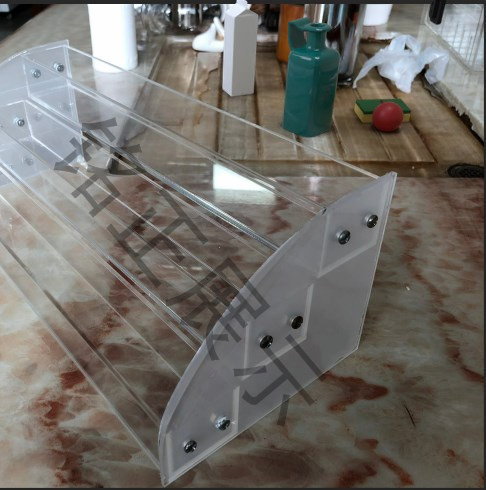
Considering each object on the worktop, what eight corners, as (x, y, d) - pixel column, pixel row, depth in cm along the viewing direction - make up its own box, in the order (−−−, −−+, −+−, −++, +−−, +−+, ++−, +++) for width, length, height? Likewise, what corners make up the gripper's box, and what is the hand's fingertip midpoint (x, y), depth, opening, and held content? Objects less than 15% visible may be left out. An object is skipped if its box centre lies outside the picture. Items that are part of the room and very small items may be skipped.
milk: (231, 98, 145) (234, 3, 132) (222, 90, 150) (224, -3, 137) (254, 95, 146) (259, 0, 134) (244, 87, 151) (248, -6, 138)
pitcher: (334, 129, 127) (349, 23, 115) (308, 140, 123) (321, 31, 111) (299, 116, 134) (310, 14, 122) (273, 127, 130) (281, 22, 117)
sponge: (398, 111, 135) (400, 98, 133) (408, 123, 129) (411, 110, 128) (353, 112, 135) (355, 99, 134) (362, 124, 130) (364, 111, 128)
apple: (403, 127, 127) (391, 97, 127) (411, 122, 121) (399, 91, 121) (375, 138, 128) (363, 108, 128) (382, 134, 122) (370, 102, 122)
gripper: (445, -94, 85) (419, 29, 95) (567, -98, 85) (529, 26, 94) (426, -99, 91) (404, 17, 101) (540, -102, 91) (507, 15, 101)
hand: (464, 21), depth 98 cm, fingers open, 9 cm apart
